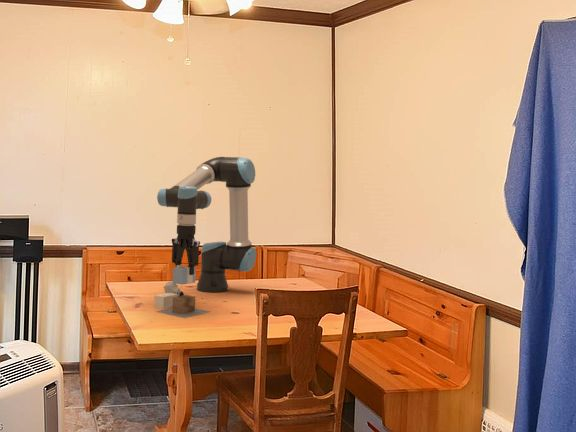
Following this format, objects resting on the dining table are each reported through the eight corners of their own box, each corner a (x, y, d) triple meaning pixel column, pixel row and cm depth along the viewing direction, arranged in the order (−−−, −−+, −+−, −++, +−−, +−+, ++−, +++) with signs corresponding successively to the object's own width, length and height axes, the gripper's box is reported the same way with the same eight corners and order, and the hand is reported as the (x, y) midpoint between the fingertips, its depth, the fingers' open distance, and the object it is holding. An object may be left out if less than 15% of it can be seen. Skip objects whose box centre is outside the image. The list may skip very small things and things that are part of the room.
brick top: (186, 280, 286) (186, 266, 286) (195, 282, 284) (195, 267, 283) (172, 283, 280) (173, 268, 279) (181, 284, 277) (182, 269, 277)
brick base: (185, 309, 288) (186, 294, 287) (194, 311, 285) (195, 296, 284) (172, 312, 281) (172, 297, 281) (181, 314, 278) (181, 299, 278)
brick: (168, 306, 296) (168, 292, 296) (176, 308, 293) (177, 294, 293) (154, 309, 290) (155, 295, 289) (163, 311, 287) (163, 297, 286)
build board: (182, 307, 294) (182, 305, 294) (211, 314, 285) (211, 311, 285) (155, 313, 281) (155, 311, 281) (184, 320, 272) (184, 318, 272)
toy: (155, 288, 296) (170, 274, 310) (161, 313, 299) (176, 298, 313) (168, 287, 294) (182, 273, 308) (174, 312, 297) (188, 298, 311)
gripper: (163, 223, 282) (161, 279, 284) (196, 227, 272) (194, 285, 274) (176, 222, 288) (174, 277, 290) (209, 226, 278) (207, 283, 280)
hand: (184, 281), depth 282 cm, fingers closed on brick top, 5 cm apart
